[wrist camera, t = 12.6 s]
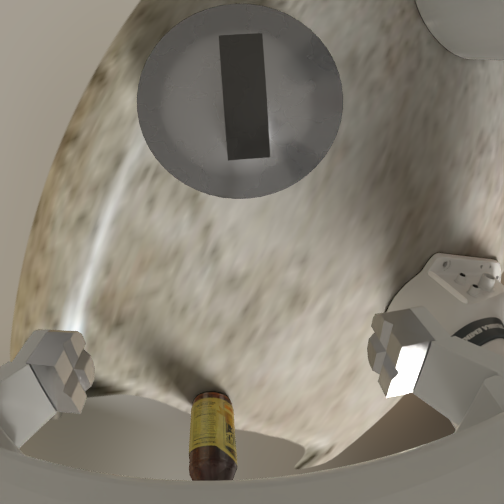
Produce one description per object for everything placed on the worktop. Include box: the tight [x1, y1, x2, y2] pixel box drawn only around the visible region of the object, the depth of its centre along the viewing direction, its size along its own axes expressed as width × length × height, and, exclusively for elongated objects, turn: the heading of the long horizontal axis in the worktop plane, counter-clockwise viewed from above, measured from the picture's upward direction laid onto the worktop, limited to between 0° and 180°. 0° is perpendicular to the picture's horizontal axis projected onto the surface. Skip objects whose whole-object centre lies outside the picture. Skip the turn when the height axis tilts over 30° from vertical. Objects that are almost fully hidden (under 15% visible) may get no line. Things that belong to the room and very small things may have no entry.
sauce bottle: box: [189, 392, 237, 481], centre depth 36 cm, size 6×6×20 cm
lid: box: [137, 4, 343, 199], centre depth 20 cm, size 15×15×6 cm
